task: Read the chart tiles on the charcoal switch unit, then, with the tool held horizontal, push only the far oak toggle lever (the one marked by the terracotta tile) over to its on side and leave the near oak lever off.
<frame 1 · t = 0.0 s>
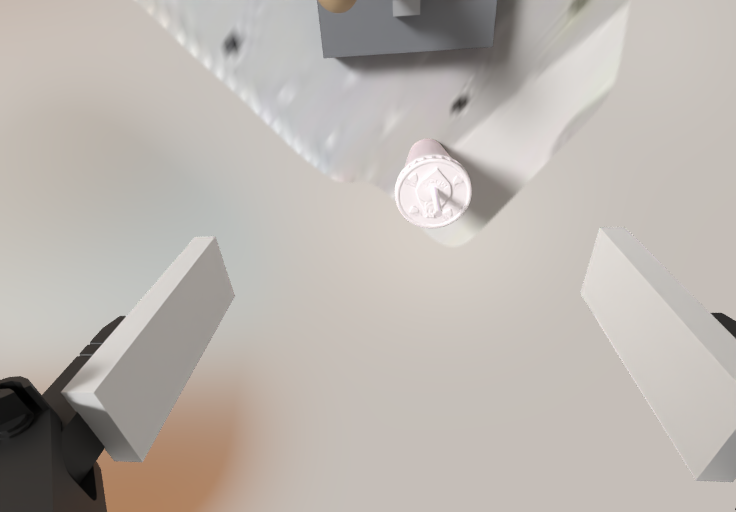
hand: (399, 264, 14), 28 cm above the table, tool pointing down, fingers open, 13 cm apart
smoothie: (426, 155, 40), on the table
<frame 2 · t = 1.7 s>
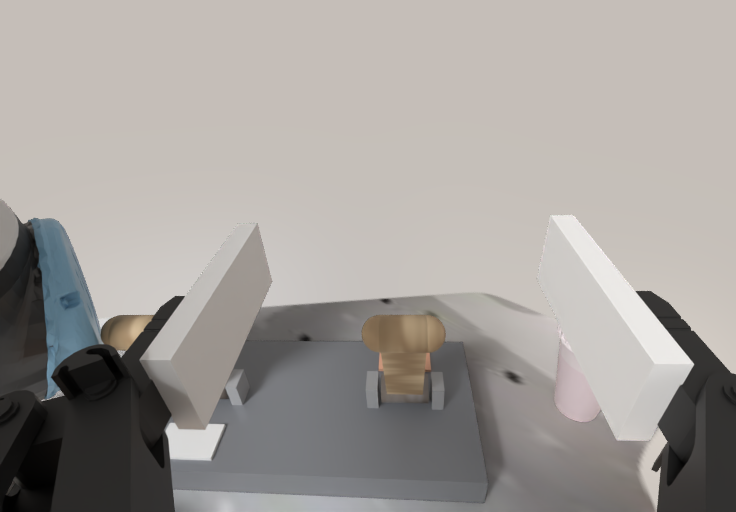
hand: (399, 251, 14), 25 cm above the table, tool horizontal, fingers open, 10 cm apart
switch unit: (311, 416, 37), on the table
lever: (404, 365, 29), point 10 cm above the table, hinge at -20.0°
smoothie: (575, 405, 37), on the table
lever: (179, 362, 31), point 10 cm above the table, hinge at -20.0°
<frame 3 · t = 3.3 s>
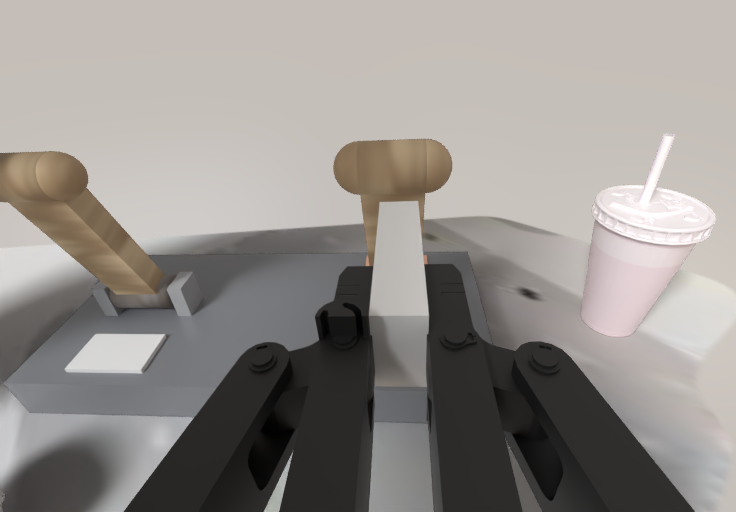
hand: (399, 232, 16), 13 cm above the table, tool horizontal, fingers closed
switch unit: (280, 336, 30), on the table
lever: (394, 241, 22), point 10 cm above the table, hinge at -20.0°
smoothie: (607, 321, 30), on the table
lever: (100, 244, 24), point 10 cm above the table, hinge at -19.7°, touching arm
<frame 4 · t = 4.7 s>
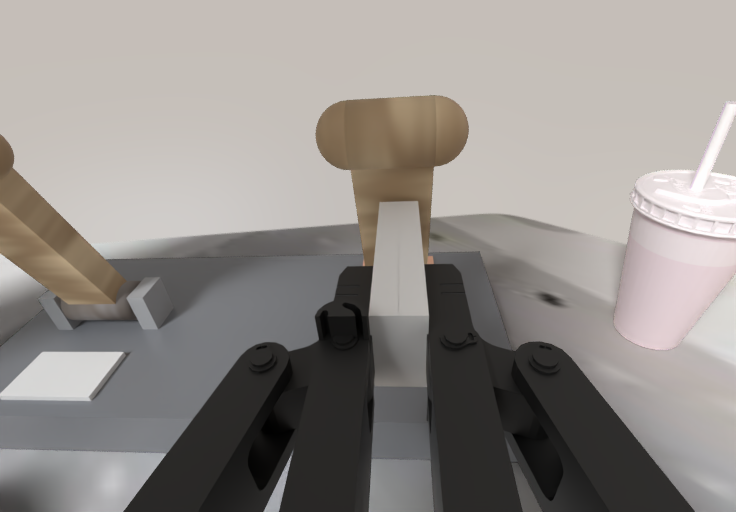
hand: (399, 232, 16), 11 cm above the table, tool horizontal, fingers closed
switch unit: (263, 351, 26), on the table
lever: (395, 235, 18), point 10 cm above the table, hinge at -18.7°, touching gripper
smoothie: (645, 331, 25), on the table
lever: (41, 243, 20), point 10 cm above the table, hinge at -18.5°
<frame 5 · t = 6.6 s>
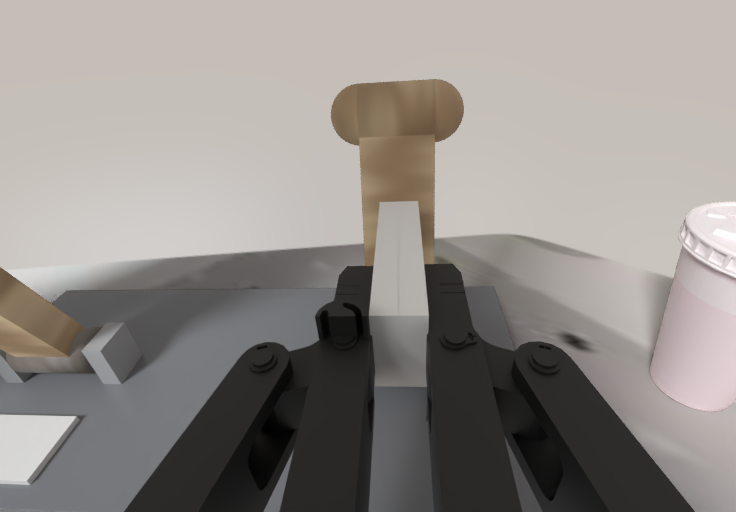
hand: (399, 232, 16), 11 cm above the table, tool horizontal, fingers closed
switch unit: (245, 405, 22), on the table
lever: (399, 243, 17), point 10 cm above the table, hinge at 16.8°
smoothie: (687, 384, 22), on the table
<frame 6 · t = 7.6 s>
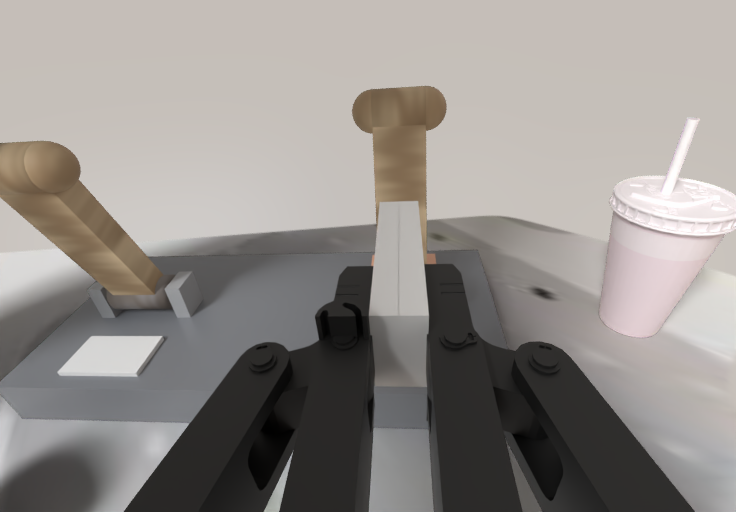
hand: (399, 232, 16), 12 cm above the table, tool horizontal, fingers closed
switch unit: (282, 338, 29), on the table
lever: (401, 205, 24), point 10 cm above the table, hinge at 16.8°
smoothie: (627, 321, 28), on the table
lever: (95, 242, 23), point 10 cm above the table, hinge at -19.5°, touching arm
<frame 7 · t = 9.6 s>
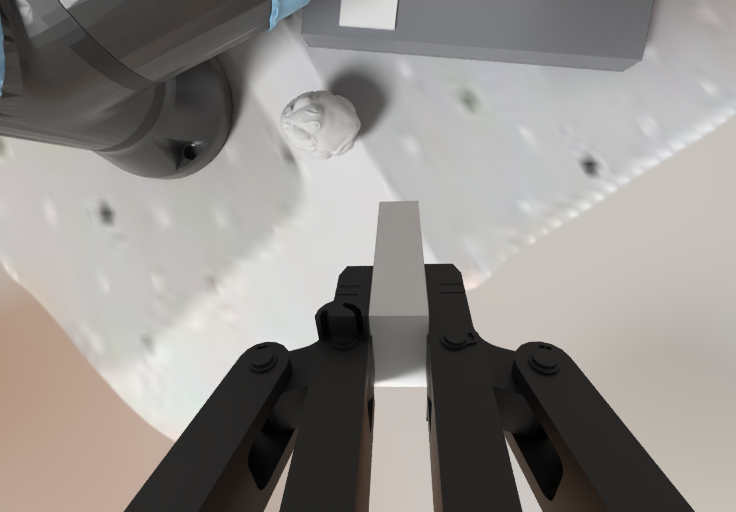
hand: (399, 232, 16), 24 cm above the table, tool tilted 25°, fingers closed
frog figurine: (331, 132, 40), on the table
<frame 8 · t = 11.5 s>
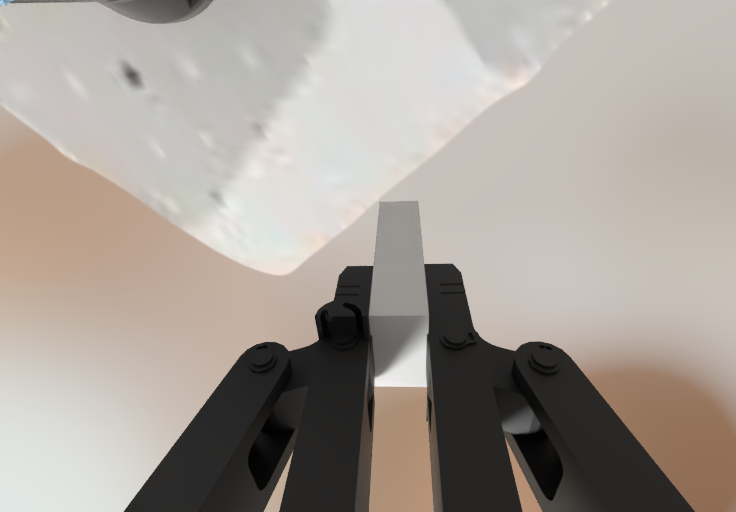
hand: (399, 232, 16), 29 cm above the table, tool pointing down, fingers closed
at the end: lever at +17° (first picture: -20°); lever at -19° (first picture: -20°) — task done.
